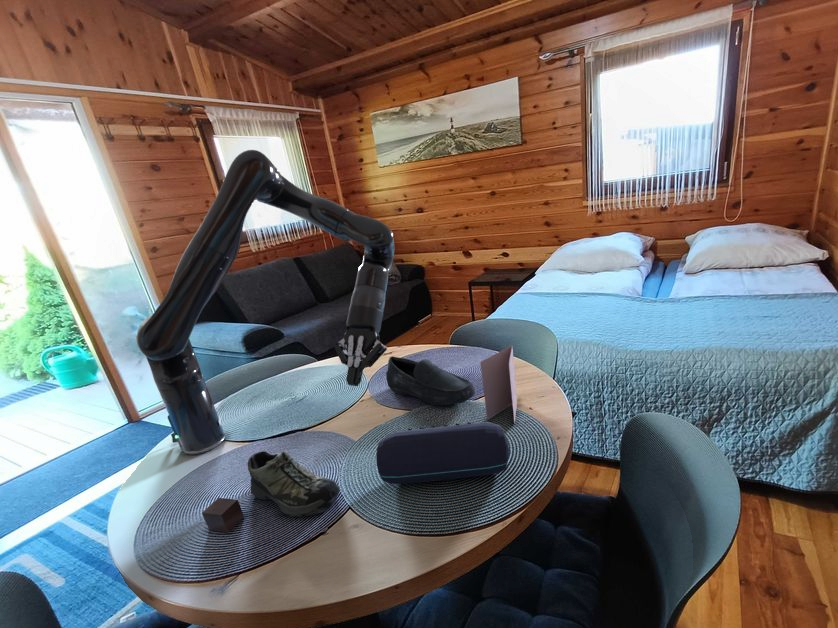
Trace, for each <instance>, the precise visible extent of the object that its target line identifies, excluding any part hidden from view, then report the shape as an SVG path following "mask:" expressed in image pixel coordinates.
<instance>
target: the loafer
mask: <svg viewBox="0 0 838 628" xmlns="http://www.w3.org/2000/svg"><path fill="white" fill-rule="evenodd" d="M385 376H386V377H385V378H386V382H387V387H388V388H389V389H390V390H391V391H392V392H393V393H396V394H398V395H403V396H413V397H416V398H418V399H420V400H421V401H424V402H426V403H427V404H429V405H434V406H454V405H457V404H461V403H464V402H466V401H468V400H469V399H471V398H472V397H474V396H475V395H476V388H475V385H474V383H473V382H471V381H470V380H468V379H466V378H464V377H462V376H459V375H456V374H454V373H452V372H449V371H447V370H445V369H442V368H441V367H439V366H437V365H436V364H434V363H433V362H432V361H431V360H430V359H429V358H423V359H421V360H420V361H416V360H413V359H409V358H404V357H397V356H393V355H392V356H390V357H389V358H388V360H387V370H386V371H385Z"/></svg>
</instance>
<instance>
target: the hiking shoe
mask: <svg viewBox="0 0 838 628" xmlns="http://www.w3.org/2000/svg"><path fill="white" fill-rule="evenodd" d="M247 470H248V472H249V476H250V493H251V494H252V495H253V496H254V498H256V499H258V500H261V501H273V502H274V503H275V504H277V506H278V508H279V510H280V511H281V512H282V513H283V515H287V516H288V517H290V518H302V517H309V516H315V515H317V514H320V513H324V512H326V511H327V510H329V509H331V507H333V505H334V504H335V502H336V501H337V498H338V496H339V493H340V491H341V488H340V486H339V484H337V482H336V481H335V480H333V479H331V478H328V477H324V476H321V475H318V474H316V473H313V472H311V471H310V470H308V469H306V468H305V467H304V466H303V465H302V464H300V463H299V462H298V461H297V460H295V458H293V457H292V455H291V454H290V453H289V452H288V451H287V450H283V451H281V452H279V453H278V452H277V453H274V454H271V453H269V452H268V451H266V450H261V451H258V452H256V453H254V454H252V455H251V456H250V457H249V458H248V461H247Z"/></svg>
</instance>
